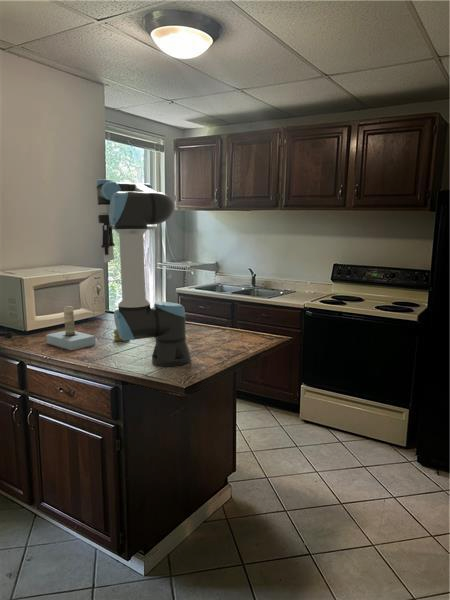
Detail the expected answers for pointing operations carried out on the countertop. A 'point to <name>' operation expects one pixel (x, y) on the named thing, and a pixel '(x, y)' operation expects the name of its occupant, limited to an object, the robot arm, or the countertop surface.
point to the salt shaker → (118, 337)
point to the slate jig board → (70, 340)
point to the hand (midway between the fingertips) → (109, 261)
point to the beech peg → (69, 321)
